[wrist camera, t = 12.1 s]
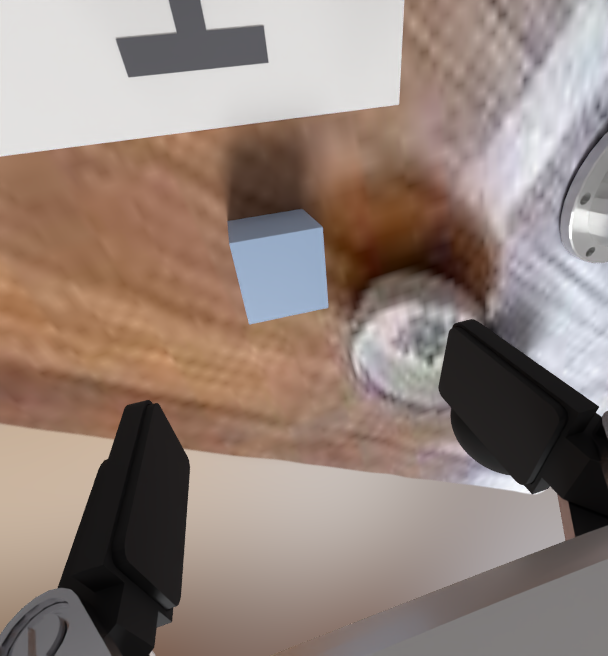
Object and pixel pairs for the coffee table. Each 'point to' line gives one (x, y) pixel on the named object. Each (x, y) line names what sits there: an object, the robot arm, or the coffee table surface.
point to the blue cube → (279, 264)
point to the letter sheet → (187, 65)
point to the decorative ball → (474, 445)
